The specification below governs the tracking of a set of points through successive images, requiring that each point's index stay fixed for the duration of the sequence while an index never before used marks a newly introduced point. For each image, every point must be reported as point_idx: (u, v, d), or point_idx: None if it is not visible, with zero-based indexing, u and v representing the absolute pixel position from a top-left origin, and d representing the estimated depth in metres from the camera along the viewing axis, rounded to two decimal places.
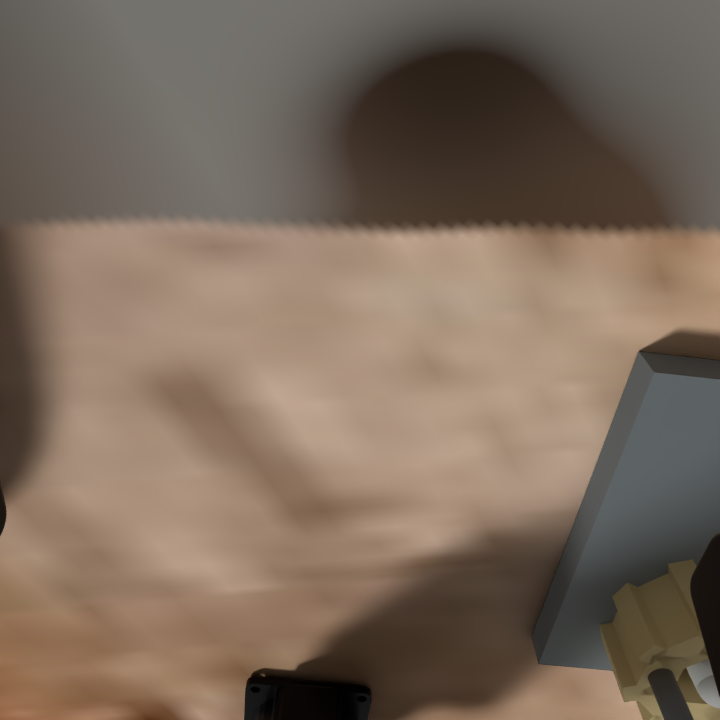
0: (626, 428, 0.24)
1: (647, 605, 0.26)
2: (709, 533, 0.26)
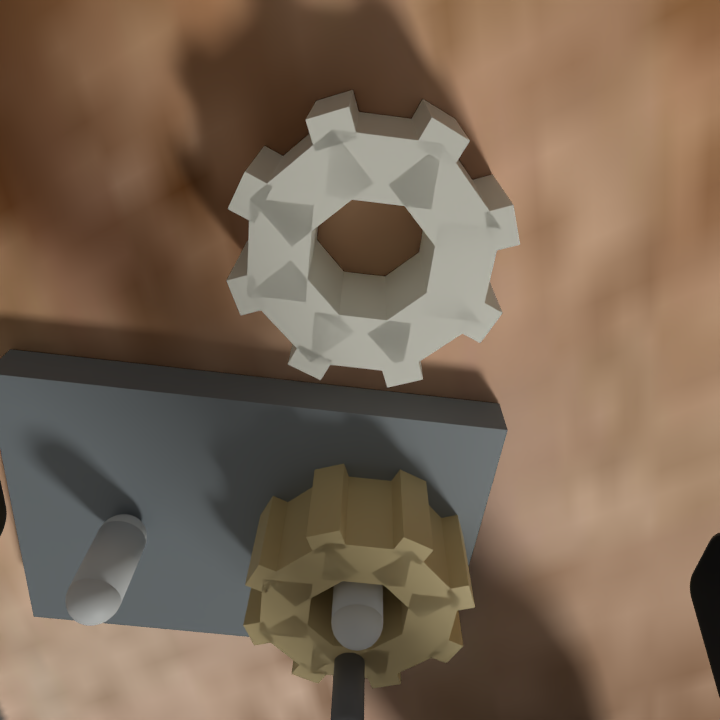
0: None
1: None
2: (216, 547, 0.23)
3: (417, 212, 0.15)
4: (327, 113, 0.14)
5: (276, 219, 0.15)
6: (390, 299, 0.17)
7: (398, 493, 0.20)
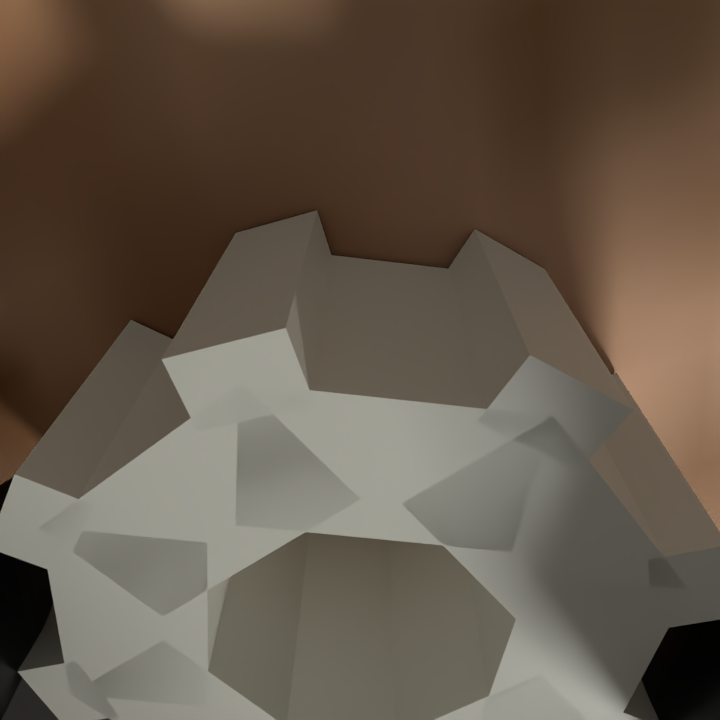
0: None
1: None
2: None
3: (476, 559, 0.06)
4: (224, 343, 0.05)
5: (115, 568, 0.06)
6: (402, 645, 0.08)
7: None
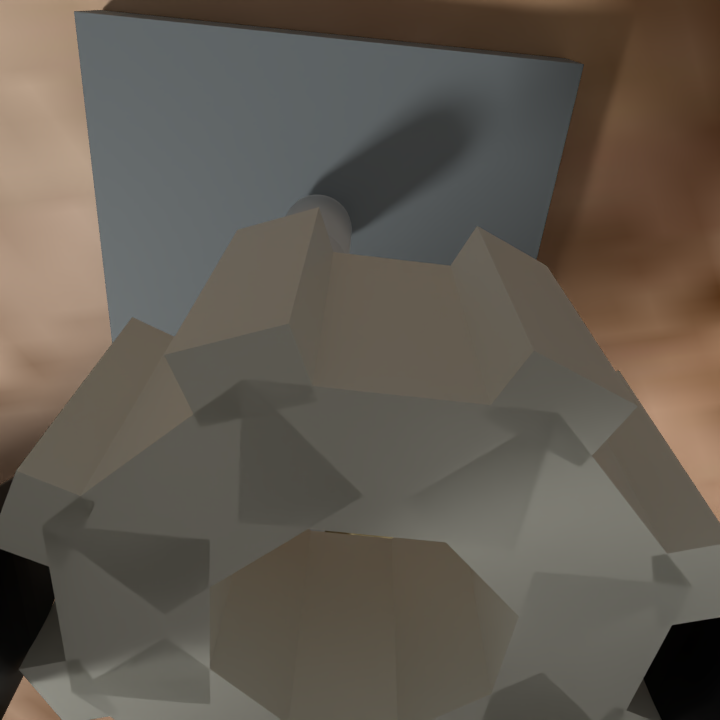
0: None
1: None
2: None
3: (479, 556, 0.06)
4: (227, 338, 0.05)
5: (118, 565, 0.06)
6: (404, 643, 0.08)
7: None
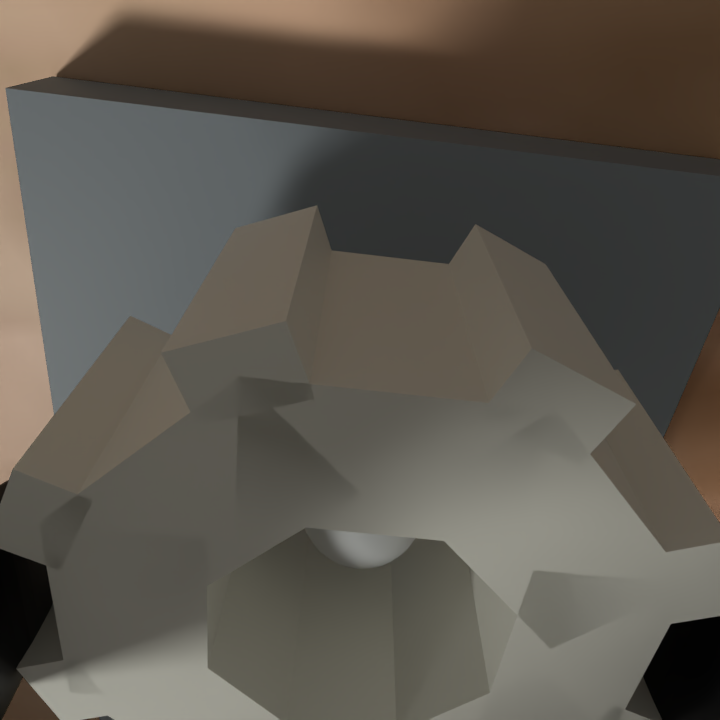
0: None
1: None
2: None
3: (477, 555, 0.06)
4: (224, 335, 0.05)
5: (115, 564, 0.06)
6: (402, 642, 0.08)
7: None
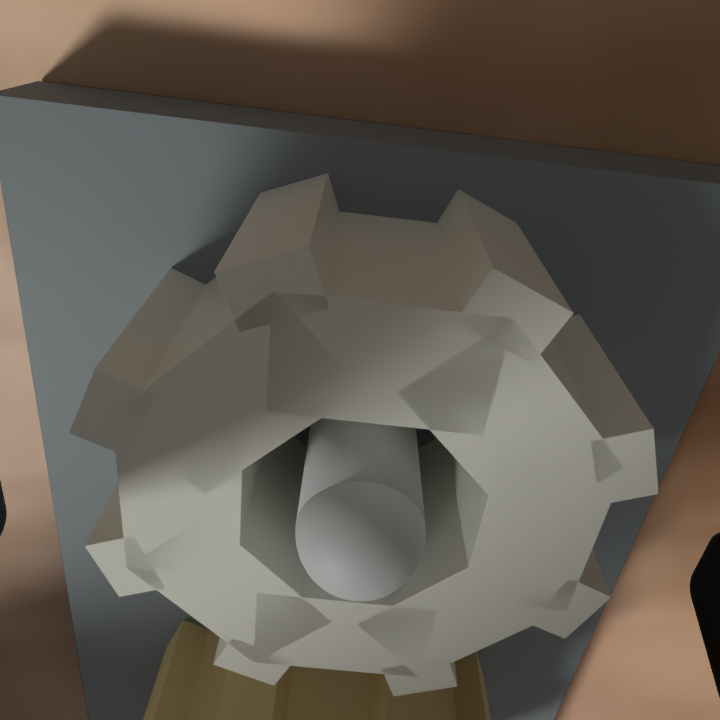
0: None
1: (199, 668, 0.13)
2: None
3: (455, 441, 0.07)
4: (262, 259, 0.06)
5: (169, 449, 0.08)
6: None
7: None
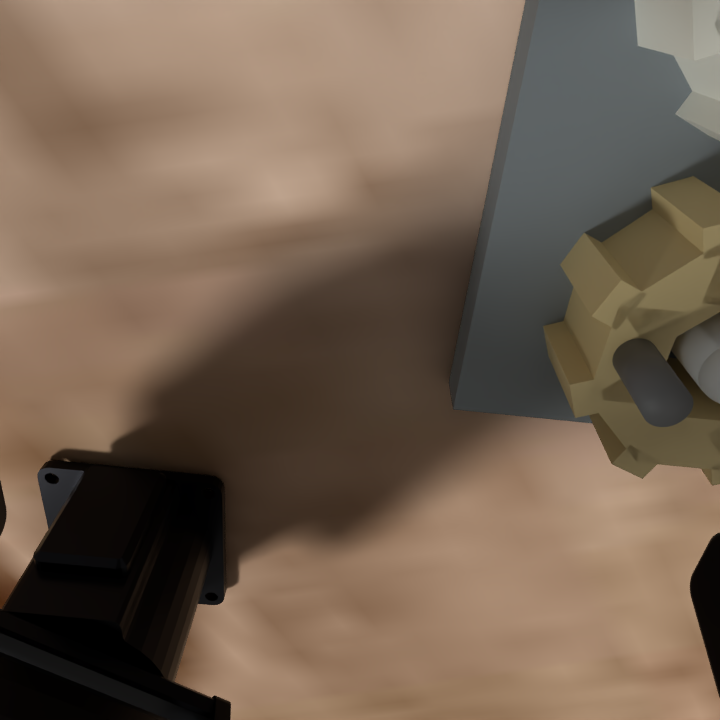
0: None
1: (615, 254, 0.16)
2: None
3: None
4: None
5: None
6: None
7: None
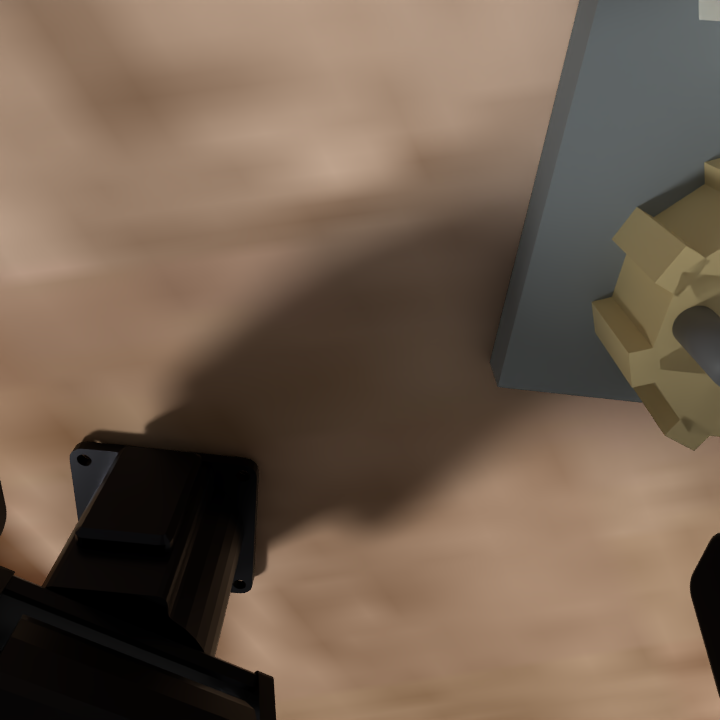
0: None
1: (671, 227, 0.16)
2: None
3: None
4: None
5: None
6: None
7: None
